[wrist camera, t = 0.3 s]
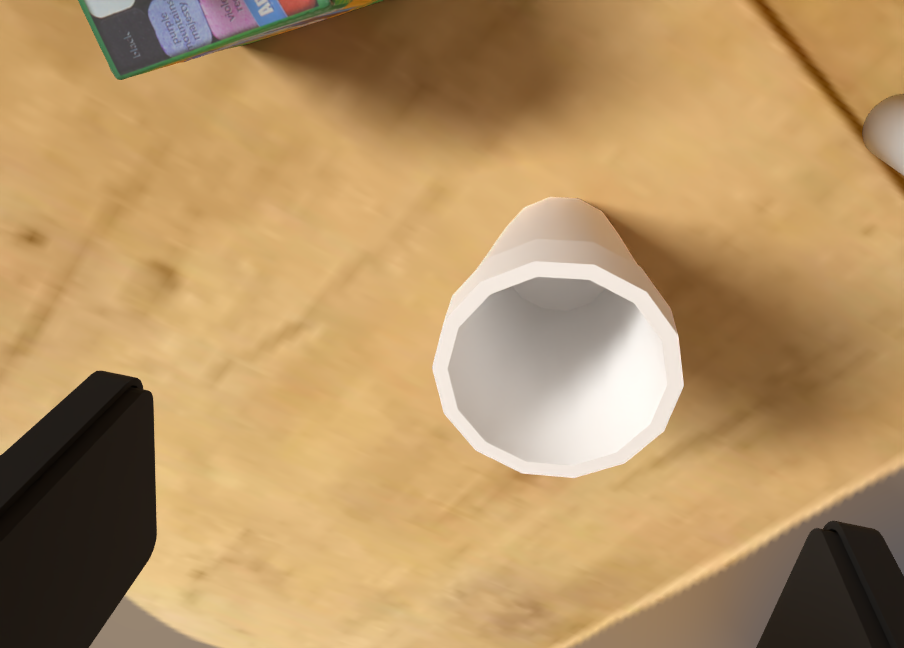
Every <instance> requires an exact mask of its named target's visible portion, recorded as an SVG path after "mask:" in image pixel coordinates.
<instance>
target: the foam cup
mask: <svg viewBox="0 0 904 648" xmlns="http://www.w3.org/2000/svg"><path fill="white" fill-rule="evenodd" d="M432 369H433V373H434V377H435V381H436V385H437V388H438V392H439V396H440V400H441V404H442V408H443V412H444V414H445V415H446V417H447V418H448V419H449V420H450V421H451V422H452V423H453V425H454V426H455V427H456V428H457V429H458V430H459V432H460V433H461V434H462V435H463V436H464V437H465V438H466V440H467V441H468V442H469V443H470V444H471V445H472V447H473V448H474V449H475V450H476V451H478V452H480V453H482V454H484V455H486V456H488V457H490V458H492V459H494V460H496V461H498V462H500V463H502V464H504V465H506V466H508V467H510V468H512V469H514V470H516V471H519V472H521V473H525V474H536V475H548V476H559V477H571V478H576V477H579V476H583V475H586V474H590V473H593V472H596V471H600V470H603V469H607V468H610V467H614V466H617V465H621V464H624V463H626V462H627V461H628V460H629V459H631V458H632V457H633V456H634V455H635V454H637V453H638V452H639V451H640V450H642V449H643V448H644V447H645V446H646V445H648V444H649V443H650V442H651V441H653V440H654V439H655V438H656V437H657V436H659V435H660V434H661V433H662V432H664V430H665V428H666V425H667V423H668V421H669V419H670V416H671V414H672V412H673V409H674V407H675V405H676V403H677V400H678V398H679V396H680V394H681V391H682V389H683V387H684V382H683V373H682V364H681V355H680V346H679V337H678V333H677V329H676V325H675V322H674V318H673V314H672V311H671V308H670V307H669V305H668V304H667V302H666V301H665V300H664V298H663V297H662V295H661V294H660V293H659V291H658V290H657V289H656V287H655V286H654V284H653V283H652V282H651V280H650V279H649V277H648V276H647V275H646V273H645V272H644V270H643V269H642V268H641V267H640V266H638V264H637V263H636V261H635V260H634V258H633V256H632V255H631V253H630V251H629V250H628V248H627V247H626V245H625V243H624V242H623V240H622V239H621V237H620V235H619V234H618V233H617V231H616V230H615V228H614V227H613V226H612V224H611V223H610V221H609V220H608V219H607V217H606V216H605V215H604V213H603V212H602V211H601V210H599V209H597V208H595V207H593V206H592V205H590V204H588V203H586V202H584V201H582V200H580V199H578V198H563V197H548V198H546V199H543V200H541V201H538V202H536V203H534V204H531V205H529V206H526V207H524V208H523V209H522V210H521V211H520V212H519V214H518V215H517V216H516V217H515V218H514V219H513V220H512V221H511V222H510V223H509V225H508V226H507V227H506V228H505V229H504V230H503V232H502V233H501V235H500V236H499V238H498V239H497V241H496V242H495V243H494V245H493V246H492V248H491V249H490V251H489V252H488V254H487V255H486V256H485V258H484V259H483V261H482V262H481V264H480V265H479V266H478V268H477V269H476V270H475V271H474V273H473V274H472V275H471V276H470V277H469V278H468V279H467V280H466V281H465V282H464V283H463V284H462V286H461V287H460V288H459V289H458V290H457V291H456V292H455V293H454V294H453V296H452V299H451V302H450V305H449V308H448V311H447V314H446V317H445V320H444V323H443V327H442V331H441V335H440V339H439V343H438V347H437V351H436V354H435V358H434V362H433V366H432Z"/></svg>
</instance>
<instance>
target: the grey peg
mask: <svg viewBox="0 0 904 648" xmlns="http://www.w3.org/2000/svg"><path fill="white" fill-rule="evenodd" d="M863 140H864V143H865V145H866V147H867V149H868V150H869V151H870V152H871V153H873V154H874V155H875V156H877V157H878V158H880V159H881V160H882V161H884V162H885V163H887V164H888V165H889V166H891V167H892V168H894V169H895V170H897V171H898V172H899V173H901V174H902V175H904V94H899V95H894V96H891V97H888V98H886V99H884V100H883V101H881V102H880V103H878V104H877V105H876V106H875V107H874V108H873V109H872V110H871V111H870V113H869V114H868V116H867V118H866V120H865V122H864V126H863Z"/></svg>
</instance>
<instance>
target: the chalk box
mask: <svg viewBox="0 0 904 648" xmlns="http://www.w3.org/2000/svg"><path fill="white" fill-rule="evenodd" d="M78 1H79V3H80V6H81V8H82V10H83V12H84V14H85V16H86V18H87V20H88V22H89V24H90V26H91V29H92V31H93V33H94V35H95V37H96V39H97V41H98V44H99V46H100V48H101V50H102V52H103V54H104V56H105V58H106V60H107V62H108V64H109V67H110V69H111V71H112V73H113V74H114V76H115V77H116V78H117V79H119V80H123V79H126V78H129V77H132V76H136V75H139V74H142V73H146V72H150V71H153V70H156V69H159V68H162V67H166V66H170V65H173V64H176V63H180V62H186V61H188V60H191V59H194V58H198V57H201V56H204V55H207V54H210V53H214V52H217V51H221V50H225V49H228V48H232V47H237V46H242V45H246V44H249V43H252V42H256V41H259V40H262V39H265V38H268V37H272V36H275V35H278V34H281V33H284V32H288V31H291V30H294V29H297V28H300V27H303V26H307V25H310V24H313V23H316V22H319V21H322V20H326V19H329V18H332V17H335V16H338V15H341V14H344V13H347V12H350V11H353V10H356V9H359V8H362V7H365V6H368V5H371V4H374V3H377V2H380V1H383V0H78Z"/></svg>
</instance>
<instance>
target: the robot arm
mask: <svg viewBox="0 0 904 648" xmlns="http://www.w3.org/2000/svg"><path fill="white" fill-rule="evenodd" d="M156 536H157V525H156V486H155V447H154V408H153V396H152V393H151V392H150V391H147V390H143V385H142V383H141V380H139V379H138V378H135V377H130V376H125V375H120V374H115V373H110V372H106V371H96V372H94V373H93V374H91V375H90V376H89V377H88V378H87V379H86V380H85V381H84V382H82V383H81V384H80V385H79V386H78V387H77V388H76V389H75V390H74V391H72V392H71V393H70V394H69V395H68V396H67V397H66V398H65V399H63V400H62V401H61V402H60V403H59V404H58V405H57V406H56V407H55V408H53V409H52V410H51V411H50V412H49V413H48V414H47V415H46V416H45V417H43V418H42V419H41V420H40V421H39V422H38V423H37V424H36V425H34V426H33V427H32V428H31V429H30V430H29V431H28V432H27V433H26V434H24V435H23V436H22V437H21V438H20V439H19V440H18V441H17V442H16V443H14V444H13V445H12V446H11V447H10V448H9V449H8V450H7V451H6V452H4V453H3V454H2V455H0V648H89V646H90V645H91V643H92V642H93V640H94V639H95V637H96V636H97V635H98V633H99V632H100V630H101V629H102V627H103V626H104V624H105V623H106V621H107V620H108V619H109V617H110V616H111V614H112V613H113V611H114V610H115V608H116V607H117V605H118V604H119V603H120V601H121V600H122V598H123V597H124V595H125V594H126V592H127V591H128V589H129V588H130V586H131V585H132V584H133V582H134V581H135V579H136V578H137V576H138V575H139V573H140V572H141V570H142V569H143V567H144V566H145V565H146V563H147V562H148V560H149V558H150V557H151V554H152V552H153V549H154V546H155V542H156ZM756 648H904V576H903V574H902V572H901V570H900V569H899V567H898V565H897V563H896V561H895V559H894V557H893V555H892V554H891V552H890V550H889V548H888V546H887V544H886V542H885V540H884V538H883V537H882V535H881V534H880V533H879V532H878V531H877V530H875V529H872V528H866V527H862V526H857V525H852V524H847V523H842V522H837V521H830V522H828V523H827V524H826V525H825V526H824V528H823V529H819V528H816V529H813V530H812V531H811V532H810V534H809V535H808V537H807V539H806V542H805V544H804V546H803V548H802V550H801V552H800V555H799V557H798V559H797V561H796V563H795V565H794V567H793V570H792V572H791V574H790V576H789V578H788V580H787V583H786V585H785V587H784V589H783V591H782V593H781V596H780V598H779V600H778V602H777V604H776V606H775V609H774V611H773V613H772V615H771V617H770V619H769V622H768V624H767V626H766V628H765V630H764V632H763V634H762V636H761V639H760V641H759V643H758V645H757V647H756Z"/></svg>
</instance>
